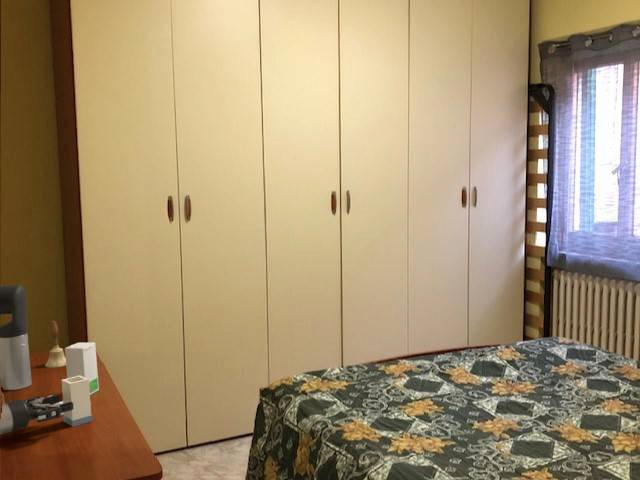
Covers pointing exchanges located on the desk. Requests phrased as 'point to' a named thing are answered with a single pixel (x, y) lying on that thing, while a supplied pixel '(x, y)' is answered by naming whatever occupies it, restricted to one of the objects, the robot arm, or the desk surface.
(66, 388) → the sleeve
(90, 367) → the skincare box
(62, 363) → the hand bell
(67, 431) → the desk surface
